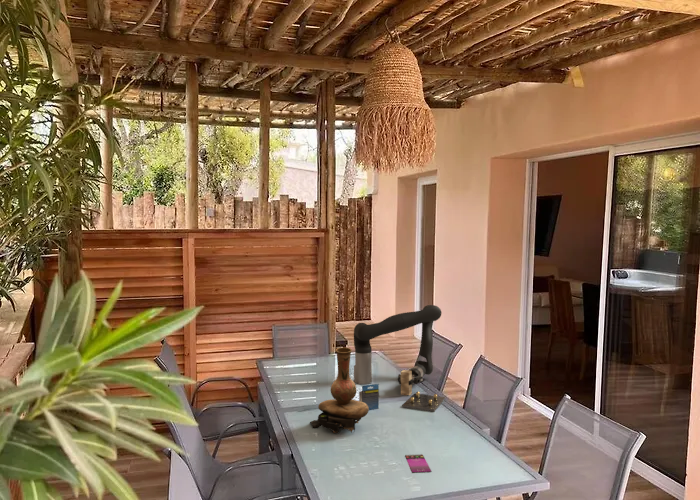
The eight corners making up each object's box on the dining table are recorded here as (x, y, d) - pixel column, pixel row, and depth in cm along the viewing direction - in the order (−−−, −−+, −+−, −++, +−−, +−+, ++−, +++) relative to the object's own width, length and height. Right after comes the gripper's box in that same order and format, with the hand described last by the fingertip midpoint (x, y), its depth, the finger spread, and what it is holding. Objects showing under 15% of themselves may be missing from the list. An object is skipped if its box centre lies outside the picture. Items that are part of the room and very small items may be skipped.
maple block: (400, 394, 286) (400, 371, 285) (403, 392, 290) (403, 369, 289) (409, 395, 284) (408, 372, 283) (411, 393, 288) (411, 370, 288)
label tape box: (375, 406, 268) (375, 381, 267) (379, 408, 264) (378, 383, 264) (358, 408, 265) (358, 383, 264) (362, 411, 261) (362, 385, 260)
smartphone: (423, 456, 211) (423, 454, 211) (432, 472, 196) (432, 470, 196) (404, 457, 211) (404, 455, 211) (412, 473, 196) (412, 471, 196)
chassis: (402, 407, 266) (402, 399, 266) (414, 395, 284) (414, 388, 284) (434, 411, 259) (434, 404, 259) (445, 399, 277) (445, 392, 277)
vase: (318, 439, 227) (318, 355, 226) (307, 420, 249) (307, 344, 247) (372, 432, 234) (372, 351, 232) (357, 415, 255) (357, 340, 254)
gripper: (402, 366, 302) (391, 374, 287) (427, 369, 297) (417, 377, 281) (402, 380, 303) (391, 388, 287) (427, 382, 297) (417, 391, 281)
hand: (404, 382), depth 284 cm, fingers closed on maple block, 4 cm apart
